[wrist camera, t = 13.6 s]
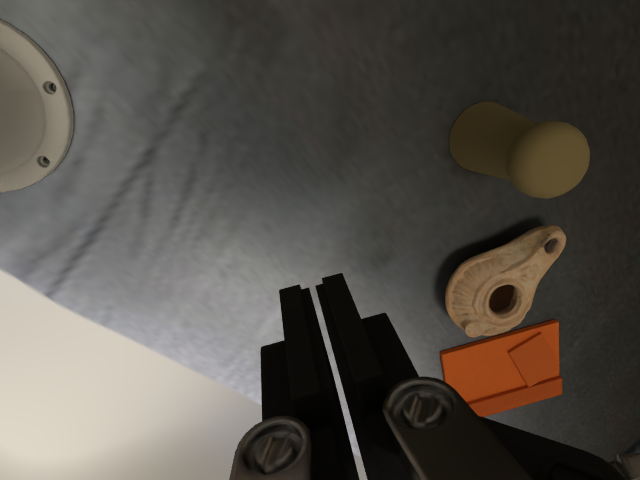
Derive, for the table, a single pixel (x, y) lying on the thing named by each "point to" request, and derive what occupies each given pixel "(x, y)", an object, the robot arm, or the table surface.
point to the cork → (520, 149)
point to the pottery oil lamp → (502, 282)
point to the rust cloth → (506, 369)
